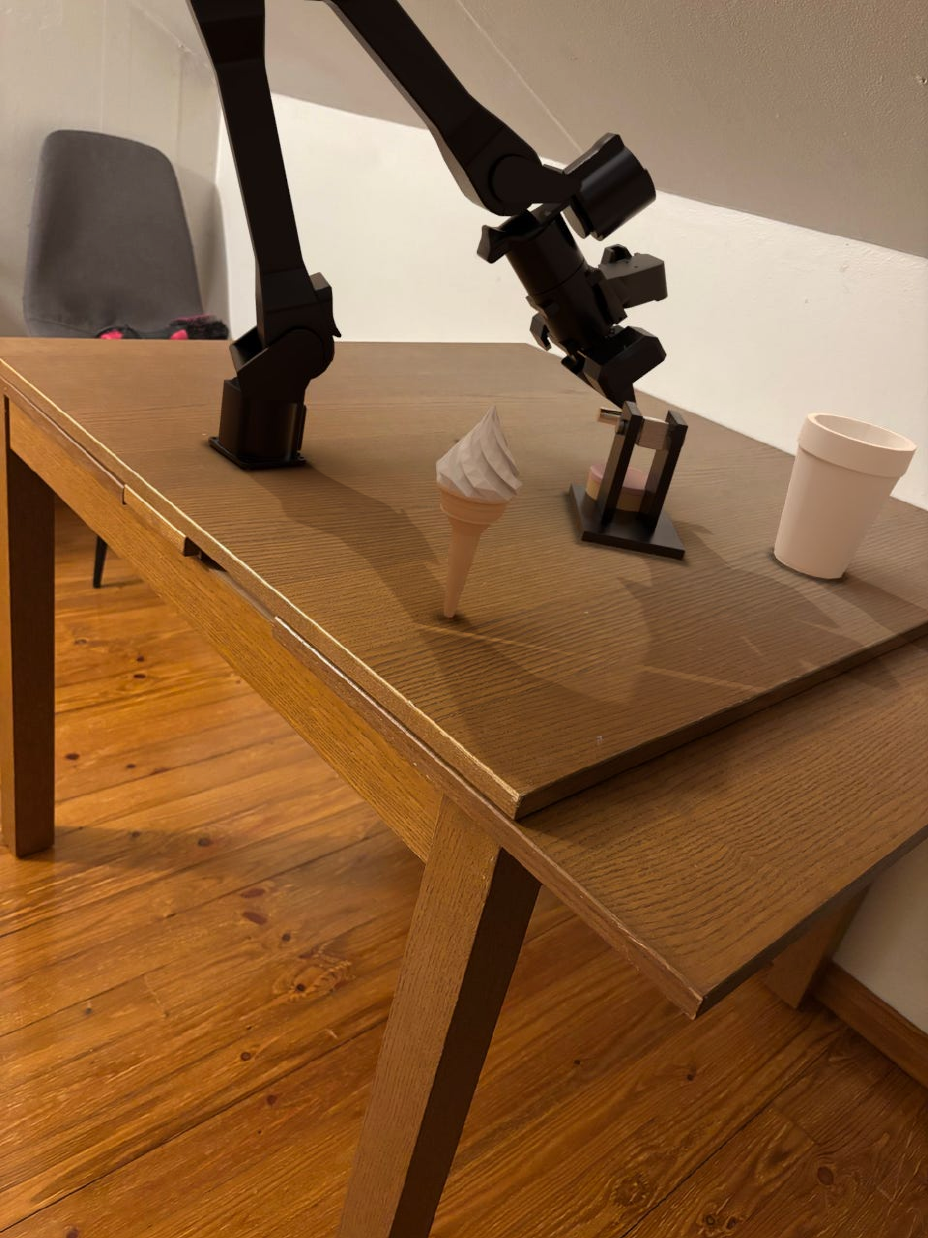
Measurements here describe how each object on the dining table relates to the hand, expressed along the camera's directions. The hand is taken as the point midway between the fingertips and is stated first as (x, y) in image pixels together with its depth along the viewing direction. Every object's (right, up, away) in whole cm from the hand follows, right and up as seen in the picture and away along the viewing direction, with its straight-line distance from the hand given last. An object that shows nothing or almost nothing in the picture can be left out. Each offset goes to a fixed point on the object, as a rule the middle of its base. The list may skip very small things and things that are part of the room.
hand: (631, 410), depth 95 cm
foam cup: (+16, -15, -4) cm, 22 cm away
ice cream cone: (-17, -20, -28) cm, 39 cm away
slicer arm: (0, -4, -4) cm, 6 cm away
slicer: (-2, -12, -5) cm, 13 cm away
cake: (-2, -10, -1) cm, 10 cm away
